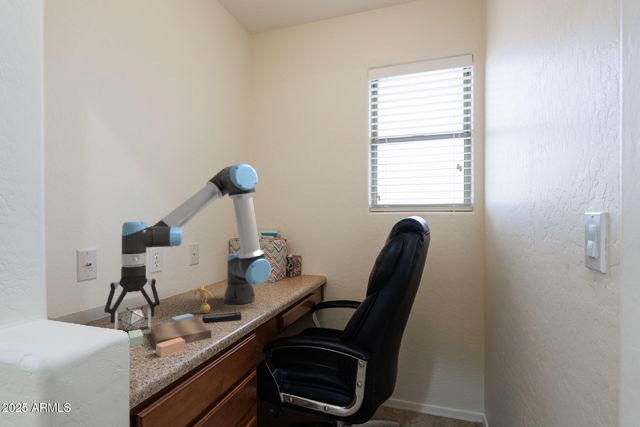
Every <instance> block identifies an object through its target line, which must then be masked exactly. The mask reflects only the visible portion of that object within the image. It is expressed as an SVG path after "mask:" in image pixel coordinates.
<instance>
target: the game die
mask: <svg viewBox="0 0 640 427" xmlns="http://www.w3.org/2000/svg"><path fill="white" fill-rule="evenodd" d="M125 308H126V310H125V312H124V314H123V315H122V316H121V318H119V319H118V322H119V321H120V323H121V325H122V327H123V329H124V330H123V332H124V331H125V332H126V331H133V330H139V329H141V327H142V326H143V324H144V323H145V321H146V320H147V319H148V318H147V316H146V315H145V313H144V311H143V308H144V306H141V307H139V308H137V307H136V308H128V307H125Z"/></svg>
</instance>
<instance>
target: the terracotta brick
mask: <svg viewBox="0 0 640 427" xmlns="http://www.w3.org/2000/svg"><path fill="white" fill-rule="evenodd" d="M155 349H156V350H155V354H156V355H157V356H159V357H160V358H163V357H166V356H169V355H172V354H175V352H176V353H178V352H182V351H184V349H185V350H186V343H185V340H184V339H182V338H180V337H179V338H176V339H172V340H169V341H165V342H162V343H159V344H155Z"/></svg>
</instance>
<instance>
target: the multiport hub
mask: <svg viewBox="0 0 640 427" xmlns="http://www.w3.org/2000/svg"><path fill="white" fill-rule="evenodd" d="M201 318H202V319H201V320H202V321H203V322H204V323H205V324H214V323H223V322H224V323H225V322H236V321H242V313H241V312H240V311H239V312H227V313H215V314H204V315H202V317H201Z"/></svg>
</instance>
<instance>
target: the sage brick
mask: <svg viewBox="0 0 640 427" xmlns="http://www.w3.org/2000/svg"><path fill="white" fill-rule="evenodd" d="M127 331H128V333H127V336H128V335H129V338H130V345H129V347H130V346H131V345H138V346H142V345H141V344H143V345H144V333H143V332H142V329H141V328H140V329H135V330H127Z"/></svg>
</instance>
